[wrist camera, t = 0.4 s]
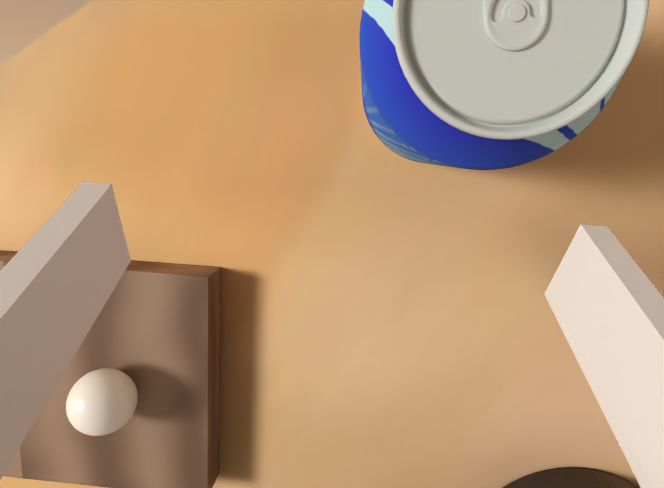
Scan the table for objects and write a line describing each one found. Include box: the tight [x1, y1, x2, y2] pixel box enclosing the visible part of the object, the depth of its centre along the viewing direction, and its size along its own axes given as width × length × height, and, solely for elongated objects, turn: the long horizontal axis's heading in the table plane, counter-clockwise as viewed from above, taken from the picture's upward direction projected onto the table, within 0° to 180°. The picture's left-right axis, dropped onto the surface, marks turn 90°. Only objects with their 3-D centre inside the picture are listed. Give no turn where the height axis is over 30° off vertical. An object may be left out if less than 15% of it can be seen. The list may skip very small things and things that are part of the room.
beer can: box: [360, 0, 649, 170], centre depth 20 cm, size 8×8×16 cm
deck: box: [0, 250, 221, 488], centre depth 32 cm, size 24×16×2 cm, turn 87°
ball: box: [66, 368, 138, 436], centre depth 28 cm, size 4×4×4 cm
